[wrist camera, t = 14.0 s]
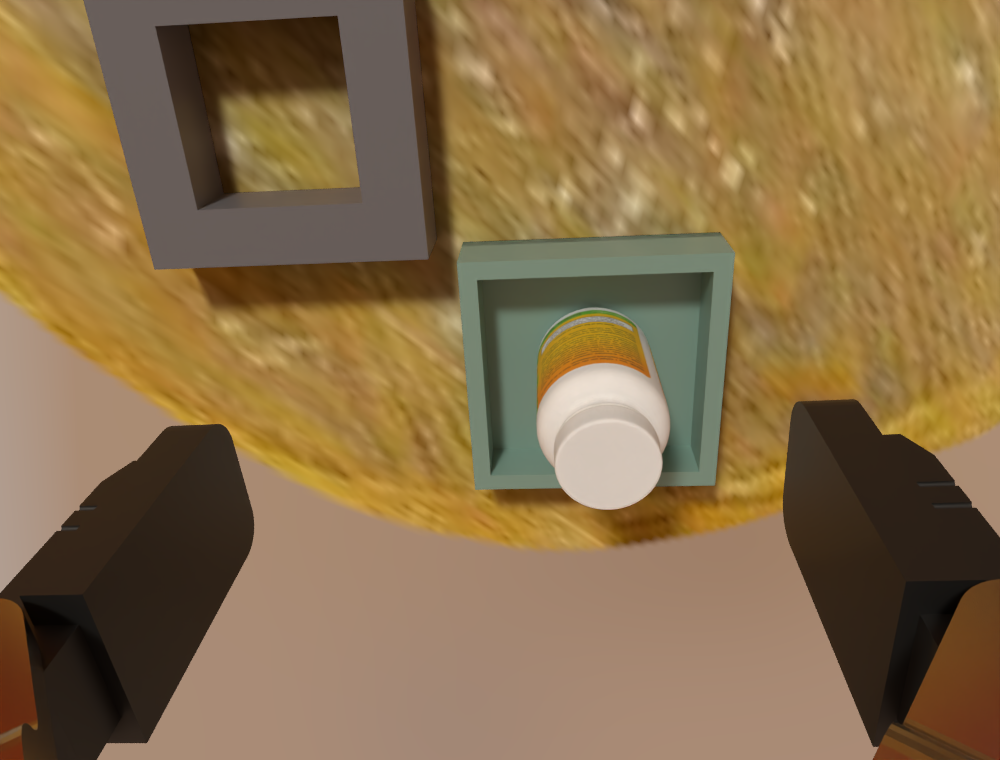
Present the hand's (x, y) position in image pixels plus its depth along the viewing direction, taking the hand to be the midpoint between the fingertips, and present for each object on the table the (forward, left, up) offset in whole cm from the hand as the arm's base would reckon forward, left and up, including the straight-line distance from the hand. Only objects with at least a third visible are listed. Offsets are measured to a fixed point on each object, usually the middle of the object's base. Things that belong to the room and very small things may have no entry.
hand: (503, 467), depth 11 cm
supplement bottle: (-3, +10, -25) cm, 27 cm away
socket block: (+10, -2, -25) cm, 27 cm away
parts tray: (-3, +10, -25) cm, 27 cm away
